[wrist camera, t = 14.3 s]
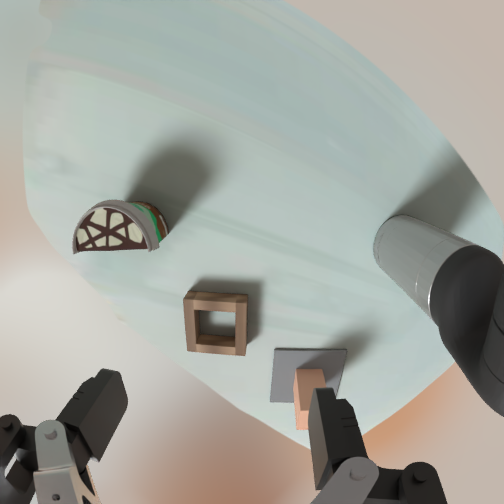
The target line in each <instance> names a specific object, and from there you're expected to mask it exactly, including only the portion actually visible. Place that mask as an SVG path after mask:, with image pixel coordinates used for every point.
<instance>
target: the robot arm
mask: <svg viewBox="0 0 504 504" xmlns="http://www.w3.org/2000/svg"><path fill="white" fill-rule="evenodd" d="M374 256H375V259H376V262H377V264H378V265H379V267H380V268H381V269H382V270H383V271H384V272H385V273H386V274H387V275H388V276H389V277H390V278H391V279H392V280H393V281H394V282H395V283H396V284H397V285H398V286H399V287H400V288H401V289H402V290H403V291H404V292H405V293H406V294H407V295H408V296H409V297H410V298H411V299H412V300H413V301H414V302H415V303H416V304H417V305H418V306H419V307H420V308H421V309H422V310H423V311H424V312H425V313H426V314H427V315H428V316H429V317H430V318H431V319H432V320H433V321H434V322H435V324H436V325H437V326H438V327H439V332H440V336H441V339H442V341H443V344H444V345H445V347H446V348H447V350H448V351H449V353H450V354H451V355H452V357H453V358H454V360H455V361H456V363H457V364H458V365H459V367H460V368H461V370H462V371H463V373H464V374H465V376H466V377H467V379H468V380H469V382H470V383H471V385H472V386H473V388H474V389H475V390H476V392H477V393H478V394H479V395H480V397H481V398H482V399H483V400H484V401H485V403H486V404H487V405H489V406H490V407H491V408H492V409H493V410H494V411H496V412H497V413H498V414H500V415H501V416H503V417H504V264H503V262H502V261H501V259H500V258H499V257H498V256H497V255H496V254H494V253H493V252H491V251H489V250H487V249H485V248H483V247H481V246H479V245H477V244H474V243H472V242H470V241H468V240H466V239H463V238H461V237H458V236H456V235H454V234H452V233H449V232H447V231H445V230H442V229H440V228H437V227H435V226H433V225H430V224H428V223H425V222H423V221H421V220H418V219H415V218H413V217H410V216H406V215H400V216H395V217H393V218H391V219H389V220H388V221H386V222H385V223H384V224H383V225H382V226H381V228H380V229H379V231H378V232H377V235H376V237H375V241H374ZM127 405H128V398H127V394H126V391H125V388H124V384H123V381H122V377H121V374H120V373H119V372H118V371H113V370H109V369H101V370H100V371H99V373H98V374H97V375H96V377H95V378H93V377H91V378H90V379H88V380H87V381H85V382H84V383H82V385H81V386H80V387H79V389H78V390H77V392H76V393H75V394H74V395H73V398H71V399H70V401H69V402H68V403H67V405H66V406H65V408H64V409H63V410H62V412H61V413H60V415H59V416H58V417H57V419H56V420H46V421H44V422H42V423H40V424H39V425H38V426H37V427H34V426H27V425H22V423H21V422H20V420H19V419H18V418H17V417H16V416H15V415H11V414H9V415H4V416H2V417H0V504H30V501H31V500H32V497H33V495H34V493H35V491H36V494H37V500H38V504H102V503H101V502H100V499H99V497H98V494H97V491H96V488H95V485H94V483H93V480H92V476H91V473H90V470H89V467H88V465H87V463H88V461H89V460H93V461H96V462H99V461H100V460H101V458H102V456H103V454H104V452H105V450H106V448H107V446H108V444H109V442H110V440H111V438H112V436H113V434H114V432H115V430H116V428H117V426H118V424H119V423H120V421H121V419H122V417H123V415H124V413H125V411H126V408H127ZM308 430H309V438H310V446H311V453H312V461H313V471H314V479H315V488H316V490H321V492H320V493H319V494H318V495H317V496H316V498H315V499H314V500H313V501H312V502H311V503H310V504H447V501H446V498H445V494H444V492H443V488H442V486H441V482H440V479H439V477H438V474H437V471H436V470H435V468H434V467H433V466H432V465H430V464H428V463H425V462H415V463H412V464H410V465H408V466H407V467H406V468H405V469H404V470H396V469H386V468H381V467H379V466H377V465H376V464H375V463H374V462H373V461H372V460H370V459H369V458H368V456H367V453H366V449H365V446H364V442H363V439H362V436H361V432H360V429H359V427H358V422H357V419H356V416H355V412H354V409H353V407H352V406H351V405H350V404H349V402H348V401H347V400H346V399H336V396H335V393H334V389H333V387H326V388H314V389H313V393H312V398H311V403H310V408H309V413H308ZM13 456H14V457H15V458H16V461H15V463H14V464H13V466H12V468H11V469H10V471H9V473H8V474H7V476H6V478H5V476H4V472H5V469H6V467H7V465H8V463H9V462H10V460H11V459H12V457H13Z"/></svg>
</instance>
